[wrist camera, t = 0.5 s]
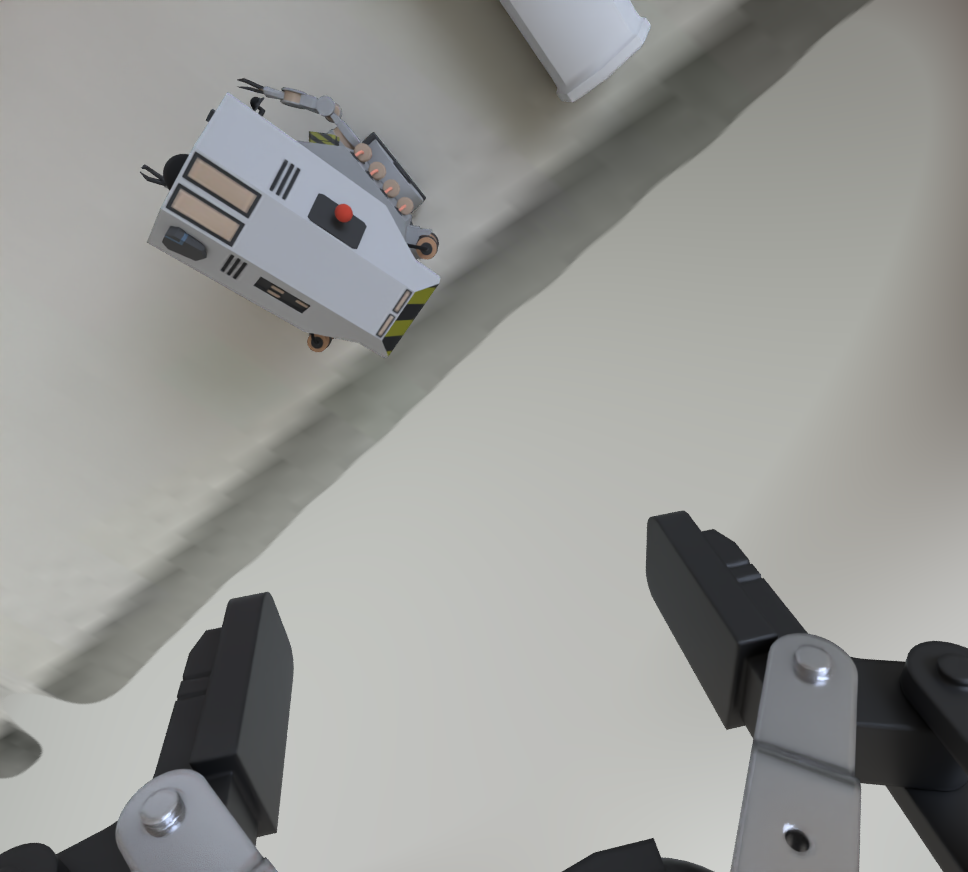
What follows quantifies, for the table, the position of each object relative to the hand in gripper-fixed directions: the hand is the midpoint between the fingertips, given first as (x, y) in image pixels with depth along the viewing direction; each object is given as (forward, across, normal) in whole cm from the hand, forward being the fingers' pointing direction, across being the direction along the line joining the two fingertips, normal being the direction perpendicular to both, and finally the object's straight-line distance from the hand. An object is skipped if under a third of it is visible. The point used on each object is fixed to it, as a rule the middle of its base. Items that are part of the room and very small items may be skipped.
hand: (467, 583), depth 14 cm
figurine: (+29, +4, -4) cm, 29 cm away
